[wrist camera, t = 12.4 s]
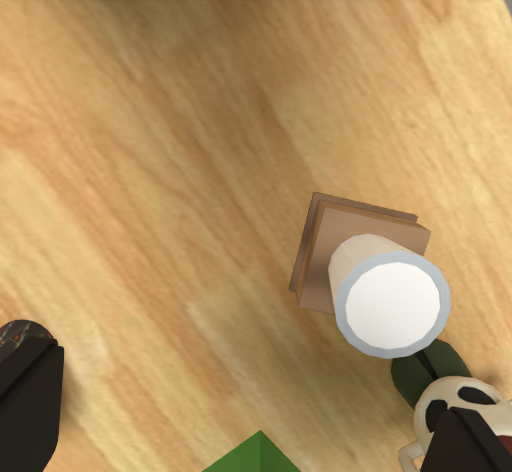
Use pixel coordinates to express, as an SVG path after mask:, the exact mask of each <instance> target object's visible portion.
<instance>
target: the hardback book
mask: <svg viewBox="0 0 512 472" xmlns="http://www.w3.org/2000/svg"><path fill="white" fill-rule="evenodd" d="M202 472H301V471H300V470H299V469H298V468H297V467H296V466H295V465H294V464H293V463H292V462H291V461H290V460H289V459H288V458H287V457H286V456H285V455H284V454H283V453H282V452H281V451H280V450H279V449H278V448H277V447H276V446H275V444H274V443H273V442H272V441H271V440H270V439H269V438H268V437H267V436H266V435H265V434H264V433H263V432H262V431H261V430H260V431H259V432H257V433H256V434H254V435H253V436H251V437H250V438H249V439H247V440H246V441H244V442H243V443H242V444H240V445H239V446H237V447H236V448H235V449H233V450H232V451H230V452H229V453H228V454H226V455H225V456H223V457H222V458H221V459H219V460H218V461H216V462H215V463H214V464H212V465H211V466H209V467H208V468H207V469H205V470H204V471H202Z"/></svg>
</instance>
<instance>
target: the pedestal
mask: <svg viewBox="0 0 512 472" xmlns="http://www.w3.org/2000/svg"><path fill="white" fill-rule="evenodd" d="M417 218H418V216H416V215H414V214H409V213H405V212H401V211H396V210H392V209H388V208H383V207H379V206H374V205H370V204H366V203H361V202H357V201H353V200H348V199H344V198H339V197H335V196H331V195H326V194H322V193H318V192H314V193H313V197H312V200H311V204H310V208H309V212H308V216H307V220H306V224H305V227H304V231H303V235H302V239H301V243H300V247H299V250H298V254H297V258H296V262H295V266H294V270H293V274H292V277H291V281H290V285H289V291H293V292H296V296H297V301H298V307H301V308H305V309H310V310H314V311H319V312H323V313H328V314H332V315H335V309H334V303H333V297H332V291H331V285H330V279H329V272H328V267H329V264H330V260H331V257H332V254H333V253H334V252H335V251H336V249H337V248H338V247H339V245H340V244H341V243H343V242H345V241H346V240H348V239H350V238H351V237H353V236H357V235H363V234H373V235H377V236H382V237H385V238H387V239H389V240H391V241H393V242H395V243H397V244H399V245H401V246H403V247H405V248H407V249H409V250H410V251H412V252H414V253H416V254H418V255H420V256H422V257H423V255H424V252H425V249H426V246H427V243H428V240H429V237H430V234H431V231H430V230H428V229H426V228H425V227H423V226H421V225H419V224H418V223H416V221H417Z"/></svg>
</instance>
